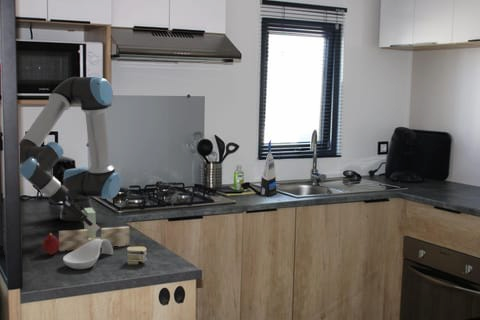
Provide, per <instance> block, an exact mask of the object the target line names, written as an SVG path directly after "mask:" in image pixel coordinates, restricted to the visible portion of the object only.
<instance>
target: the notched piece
mask: <svg viewBox="0 0 480 320" xmlns="http://www.w3.org/2000/svg"><path fill="white" fill-rule="evenodd" d="M92 208H93V207H92ZM92 208H84V214H85V215H86V216H88V217H89V218H90V219H91V220H92V221H93V222H94V223H95V224H96V223H97V221H96V220H97V219H96V217H97V216H96V215H97V213H96V211H95V209H94V208H93V209H92ZM83 226H84V227H83V228H84V229H88V236H89V238H97V231H96V232H93V231H92V230H91V229H90V228H89V227H88V226H87V225H86V224H84V223H83Z"/></svg>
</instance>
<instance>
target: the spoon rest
mask: <svg viewBox="0 0 480 320" xmlns="http://www.w3.org/2000/svg"><path fill="white" fill-rule="evenodd" d="M101 243H102V248H100V246H101ZM100 252H101V254H104V255H108V256H110V255H111V256H112V255H114V247H112V245H111V243H110V242H109V241H108V240H105V239H104V240H101V239H94V240H92V241H90V242H88V243H87V244H85V245H83V246H82V247H80V248H78V249H76V250H71V252H68V253H67V254H65V255H64V256H63V257H62V261H63V263H64V264H65V265H66V266H67V267H69V268H71V269H75V270H87V269H89V268H91V267H92V266H94V265H95V264H96V262H97V261H98V259H99V257H100Z"/></svg>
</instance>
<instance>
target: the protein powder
mask: <svg viewBox="0 0 480 320" xmlns="http://www.w3.org/2000/svg"><path fill="white" fill-rule="evenodd" d="M267 147H268V149H267V151H268V152H267V156H266V159H265V163H264V167H263V171H262V174H261V181H260V193H259V194H260V195H261V196H263V197H267V198H269V197H274V196H276V195H277V193H278V192H277V179H276V178H277V177H276V168H275V167H276V166H275V160H274V156H273V153H272V139H270V140H269V142H268V146H267Z"/></svg>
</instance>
